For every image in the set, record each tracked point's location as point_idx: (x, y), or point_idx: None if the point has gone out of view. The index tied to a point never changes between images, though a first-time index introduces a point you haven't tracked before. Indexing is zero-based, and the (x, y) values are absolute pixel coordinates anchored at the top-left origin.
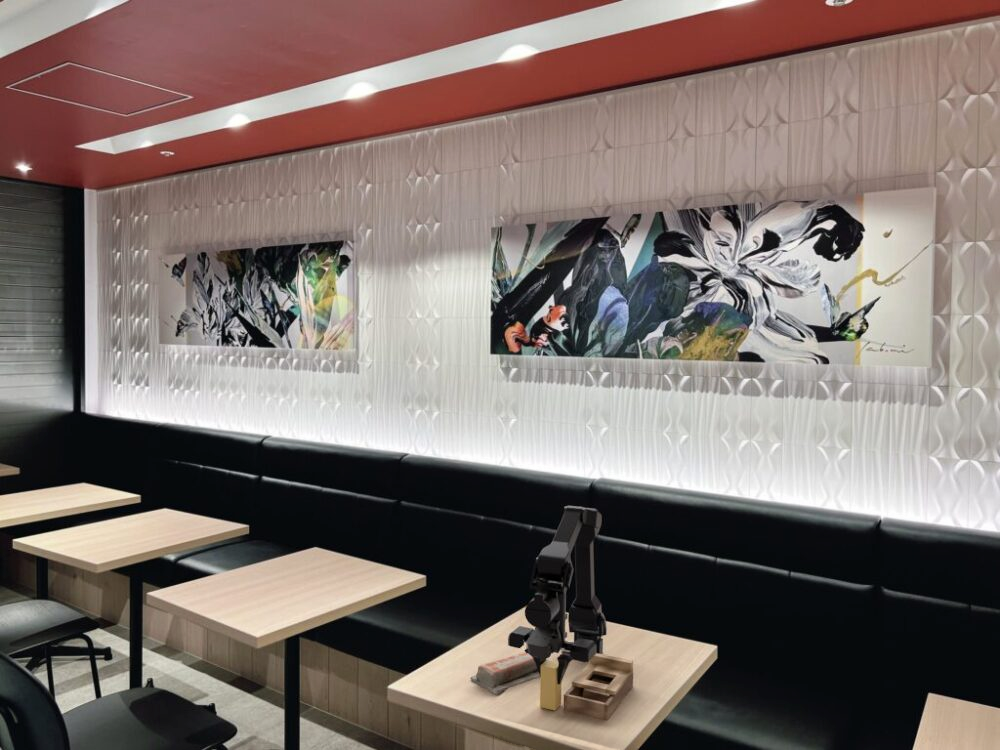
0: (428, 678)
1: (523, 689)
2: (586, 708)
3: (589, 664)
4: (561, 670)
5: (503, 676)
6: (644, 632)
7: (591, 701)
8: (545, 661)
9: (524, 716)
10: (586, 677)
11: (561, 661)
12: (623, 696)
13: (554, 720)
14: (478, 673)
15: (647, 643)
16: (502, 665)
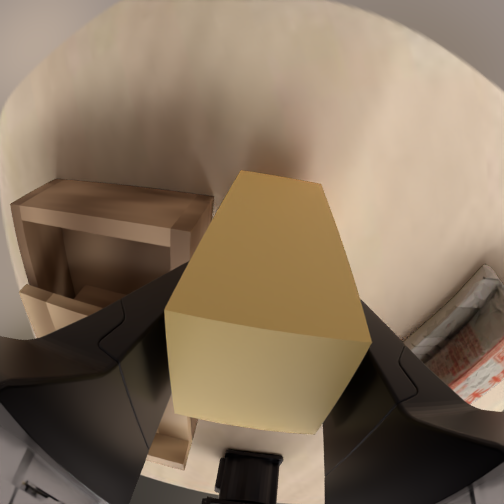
0: None
1: (400, 324)
2: (97, 199)
3: (184, 436)
4: (118, 307)
5: (476, 339)
6: (189, 488)
7: (58, 210)
8: (325, 413)
9: (375, 114)
10: None
11: (15, 354)
12: None
13: (232, 118)
14: None
15: (170, 474)
16: (478, 379)
